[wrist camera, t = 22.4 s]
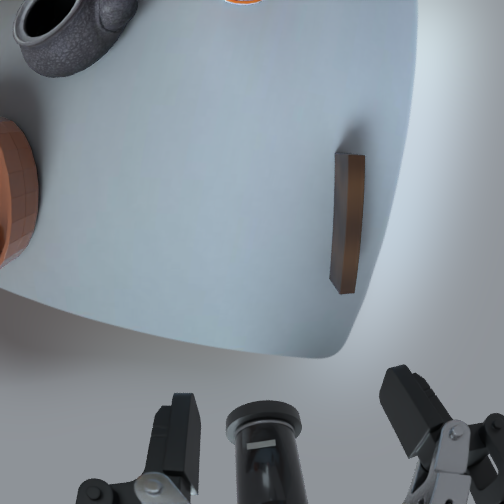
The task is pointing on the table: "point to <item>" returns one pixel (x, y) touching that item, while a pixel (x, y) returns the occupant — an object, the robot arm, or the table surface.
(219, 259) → the table surface
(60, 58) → the teapot
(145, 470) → the robot arm
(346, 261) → the stick
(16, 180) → the bowl
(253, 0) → the pill bottle
